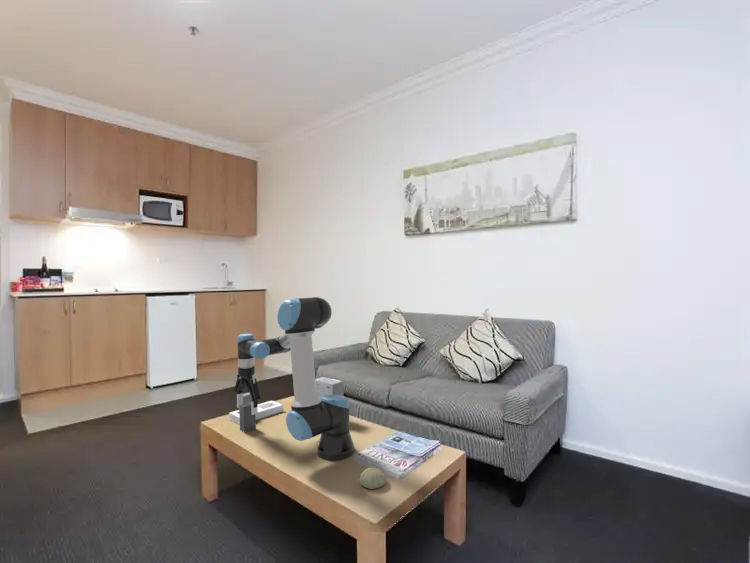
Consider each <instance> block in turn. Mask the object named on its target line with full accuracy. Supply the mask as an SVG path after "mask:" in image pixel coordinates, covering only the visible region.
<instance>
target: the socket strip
mask: <svg viewBox="0 0 750 563" xmlns="http://www.w3.org/2000/svg"><path fill="white" fill-rule="evenodd" d="M251 400H252V398H251V395H250V393H249V391H248V392H245V393H243V404H245V403H249V402H251ZM257 407H258V413H257V414H255V418H256V421H257V420H260V419H263V418H267V417H269V416H272V415H275V414H279V413H283V412H284V404H282V403H279V402H278V401H274V400H269V401H266V402H265V401H264V402H262V403H261V402H260V403H258V406H257ZM228 413H229V414H228V415H229V418H228V420H229V419H230V420H229V421H231V420H232V421H231V422H233V421H234V423H235V422H236V424H237V423H238V424H237V425H239V424H240V411H239V409H238V410H234V411H231V412H228Z"/></svg>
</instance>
